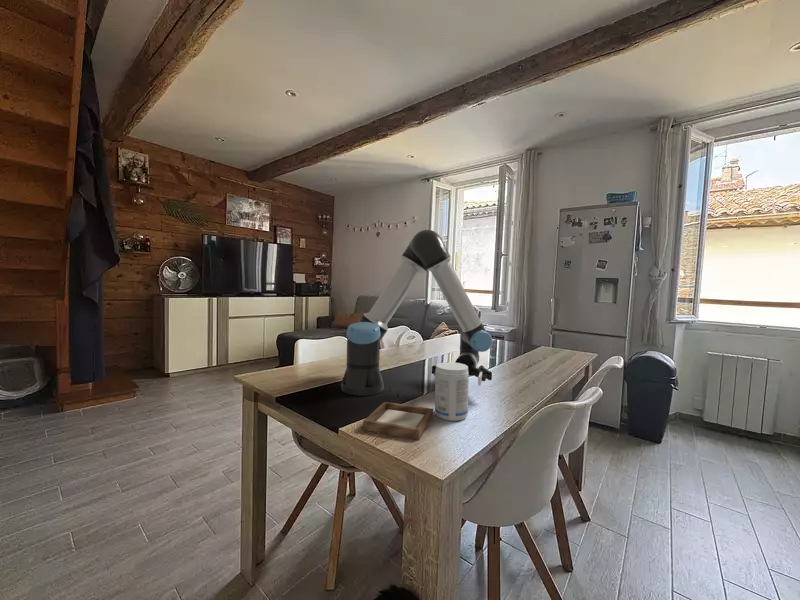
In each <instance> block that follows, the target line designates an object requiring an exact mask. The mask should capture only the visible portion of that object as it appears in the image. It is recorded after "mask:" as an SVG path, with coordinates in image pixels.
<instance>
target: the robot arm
mask: <svg viewBox="0 0 800 600" xmlns="http://www.w3.org/2000/svg"><path fill="white" fill-rule="evenodd" d="M451 258H452V257H451V254H450V253H449V251H448V249H447V246H446V245H445V243H444V241H443V239H442V237H441V235H439V234H438V233H437V232H436V231H435V230H432V229H422V230H420V231H418V232H417V233H416V234H414V236H413V237H412V239H410V241H409V244H408V245H407V247H406V249H405V250H404V252H403V253H402V254H401V263H400V264H399V266H398V267H397V269H396V271H395V272H394V273H393V275H392V277H391V278H390V280H389V282H388V283H387V285H386V286H384V287H385V288H384V289H383V290H382V292H381V293H380V295H379V297H378V298H377V300H376V301H375V303H374V304H373V306H372V307H371V309H370V311H369V312H365V313H363V314H362V315H361V317H360V318H359V320H358V322H355V323H354V322H353V323H350V324H349V325H348V326H347V331H346V369H345V371H344V373H343V377H342V381H341V383H340V389H341V391H342V392H343V393H344V394H347V395H351V396H358V397H359V396H372V395H377V394H380V393H381V392H383V391H384V379H383V376H382V373H381V370H380V350H381V349H380V348H381V347H380V342H381V341H382V339H383V338H384V337H385V335H386V334H387V332H388V330H389V328H388V323H389V322H390V320H391V319H392V317H393V316H394V315H395V313H396V311H397V309H398V308H399V307H400V306H401V304H402V302H403V301H404V299H405V298H406V296H407V295H408V293H409V291H410V290H411V289H412V287H413V286H414V284H415V283H416V281H417V279H418V278H419V277H420V275H421V274H425V273H427V271H429V272H430V273H431V275H432V277H433V279H434V280H435V282H436V283H437V285H438V287H439V290H440V291H441V293H442V295H443V297H444V298H445V301H446V303H447V304H448V306H449V308H450V310H451V311H452V314H453V316H454V318H455V320H456V321H457V323H458V325H459V326H460V328H459V330H460V332H459V333H460V334H459V339H460V340H459V356H458V357H457V358H456V360H455V361H454V363H461V364H465V365H467V366H468V374H469V376H471V377H472V376H473V377H476V378H478V379H477V386H479V387H481V385H482V382H486V380H488V381H492V380H493V372H492V371H490V370H489V369H487V368H485V366H484V365H480V366H478V367H477V365H478V364H479V362H480V355H479V353H483V352H487V351H488V350H489V349H491V348H492V346H493V343H494V342H493V337H492V335H491V334H490V333H489V332H488V331H487V330H486V329H485V327H484V325H483V323H482V321H481V318H480V317H479V315H478V313H477V311H476V309H475V308H474V305H473V304H472V301H471V300H470V298H469V296H468V294H467V292H466V290H465V288H464V286H463V285H462V282H461V281H460V278H459V277H458V275H457V273H456V271H455V268H454V267H453V264H452V263H451ZM436 365H437V364H435V365H432V366H431V374H433V376H434V377H435V372H436Z"/></svg>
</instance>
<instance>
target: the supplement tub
mask: <svg viewBox="0 0 800 600" xmlns="http://www.w3.org/2000/svg"><path fill="white" fill-rule="evenodd" d="M435 365H436V372H435V376H434V380H435V383H434V384H435V385H434V413H435V415H436V416H437V418H440V419H441V420H445V421H448V422H449V421H450V422H456V421H462V420H465V419H466V418H467V417H468V414H469V374H468V366H467V365H465V364H461V363H455V361H454V362H453V361H451V362H448V361H445V362H439V363H437V364H435Z"/></svg>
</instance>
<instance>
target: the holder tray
mask: <svg viewBox="0 0 800 600" xmlns="http://www.w3.org/2000/svg"><path fill="white" fill-rule="evenodd" d="M433 418H434V408H430V407H422V406H417V405H416V406H415V405H410V404H401V403H396V402H388V401H384V402H382V403H381V404H380V405H379V406H378V407H377V408H376V409H375V410H373V411H372V412H371V413H370V414H369V415H368V416H366V418H364V420H362V421H363V422H362V430H363V429H365V430H370V431H374V432H373V433H376V432H379V433H378V434H381V433H384V434H383V435H387V434H389V435H388V436H393V435H394V436H395V437H398V436H400V438H404V439H411V440H414V441H415V440H416V441H420V440H421V438H422V437H423V435H424V433H425V432H426V430H427V428H428V426H429V425H430V423H432V422H431V421H432V420H433ZM365 430H364V431H365ZM370 431H369V432H370ZM394 436H393V437H394Z"/></svg>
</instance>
